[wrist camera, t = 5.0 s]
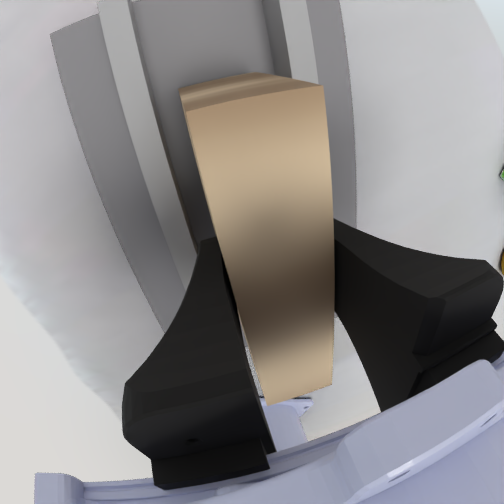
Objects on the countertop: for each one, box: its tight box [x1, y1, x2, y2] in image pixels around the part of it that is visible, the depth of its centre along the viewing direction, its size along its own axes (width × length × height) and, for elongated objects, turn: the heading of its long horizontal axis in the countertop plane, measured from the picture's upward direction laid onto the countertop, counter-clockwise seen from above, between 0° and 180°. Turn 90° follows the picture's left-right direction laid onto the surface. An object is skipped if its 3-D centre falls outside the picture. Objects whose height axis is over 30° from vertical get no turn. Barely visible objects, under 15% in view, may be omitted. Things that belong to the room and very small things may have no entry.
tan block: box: [178, 72, 335, 406], centre depth 12 cm, size 12×3×6 cm, turn 10°
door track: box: [50, 0, 356, 347], centre depth 15 cm, size 20×12×3 cm, turn 10°
